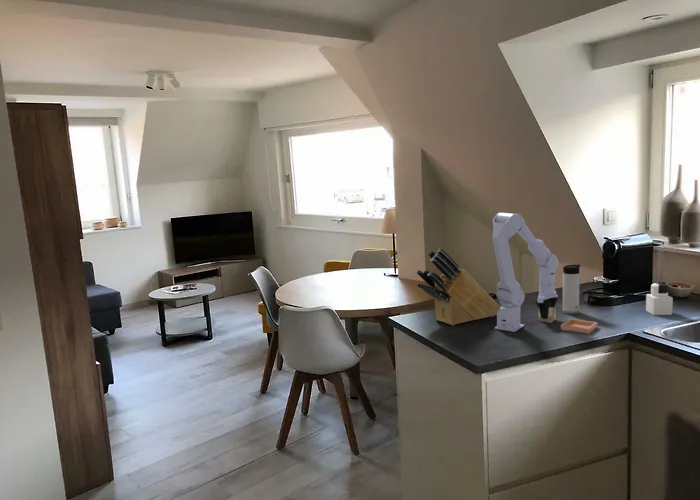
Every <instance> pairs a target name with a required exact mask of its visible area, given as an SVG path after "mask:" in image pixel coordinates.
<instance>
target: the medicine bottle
mask: <svg viewBox="0 0 700 500" xmlns="http://www.w3.org/2000/svg"><path fill="white" fill-rule="evenodd" d="M673 298H674V297H672V296H670V295H669V284H667V283H662V282H654V283H652V284H651V285H650V293H647V294H646V295H645V311H646V312H647V313H649V314H651V315H652V316H672V315H673V301H674V300H673Z"/></svg>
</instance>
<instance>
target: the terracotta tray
mask: <svg viewBox="0 0 700 500" xmlns="http://www.w3.org/2000/svg"><path fill="white" fill-rule="evenodd" d="M596 329H598V321H597V322H596V321H589V320H584V319H577V318H576V319H575V318H569V319H567V320H566V321H564V322H562V323H561V324H560V331H565V332H571V333H575V334H585V335H590V334H591V333H592V332H594V331H595V330H596Z"/></svg>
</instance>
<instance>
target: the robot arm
mask: <svg viewBox="0 0 700 500" xmlns="http://www.w3.org/2000/svg"><path fill="white" fill-rule="evenodd" d="M492 226H493V229H492V234H491V237H492V238H491V239H492V240H491V241H492V244H493V249H494V250H493V251H494V254H495V259H496V265H497V271H498V276H499V279H500V280H499V282H498V283H497V284H496V298H497V300H498V301H499V304H500V309H499V310H498V312H497V315H496V326H495V327H494V329H495V330H500V331H507V332H511V333H512V332H513V333H514V332H517V331H518V330H520V329H522V328H523V327H525V323H524V324H523V323H521V306H522V304H523V303H524V301H525V297H526V295H525V292H524V291H523V289H522V286H521V284H520V282H518V281H517V279H516V275H515V271H514V265H513V259H512V254H511V253H512V252H511V249H510V245H509V244H510V242H509V240H510V238H512V237H513V236H515V234H516V233H517V234H518V235H519V236H520V237H521V238H522V239H523V240H524V242H525V243H526V244H527V250H528V251H529V252H530V254H531V255H533V257H534V258H535V262H536V263H535V264H536V265H538V267H539V288H538V289H539V291H538V297H537V299H536V300H535V304H536V305H537V308H538V309H539V311H540V315H541V318H543V319H547V317H548V311H549V307H555V308H556V304H557V302H558V301H559V295H558V294H557V290H556V289H555V288H556V272H557V267H558V265H559V262H560V260H558V257H557V255H556V254H554V253H551V250H550V249H549V248H548V247H547V246H546V245H545V242H544V240H542V239H539V238H536V237H535V235H534V234H533V233H532V232H531V230H530V228H529V227H528V225H527V224H526V219H525V218H523V216H522V215H521V213H520V214H519V213H518V212H517V213H513V212H512V213H511V212H510V213H509V212H504V211H503V212H502V211H501V212H500V211H499V212H498V213H496V215H495V216H494V217H493V219H492Z"/></svg>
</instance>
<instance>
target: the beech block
mask: <svg viewBox="0 0 700 500" xmlns="http://www.w3.org/2000/svg"><path fill="white" fill-rule="evenodd" d="M537 311H538V313H537V314H538V320H537V321H538V322H544V323H553V322H554V321H556V319H557V318H556V306H555V307H549V311H548V317H547V319H543V318H541V315H540V311H539V308H538V309H537Z"/></svg>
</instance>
